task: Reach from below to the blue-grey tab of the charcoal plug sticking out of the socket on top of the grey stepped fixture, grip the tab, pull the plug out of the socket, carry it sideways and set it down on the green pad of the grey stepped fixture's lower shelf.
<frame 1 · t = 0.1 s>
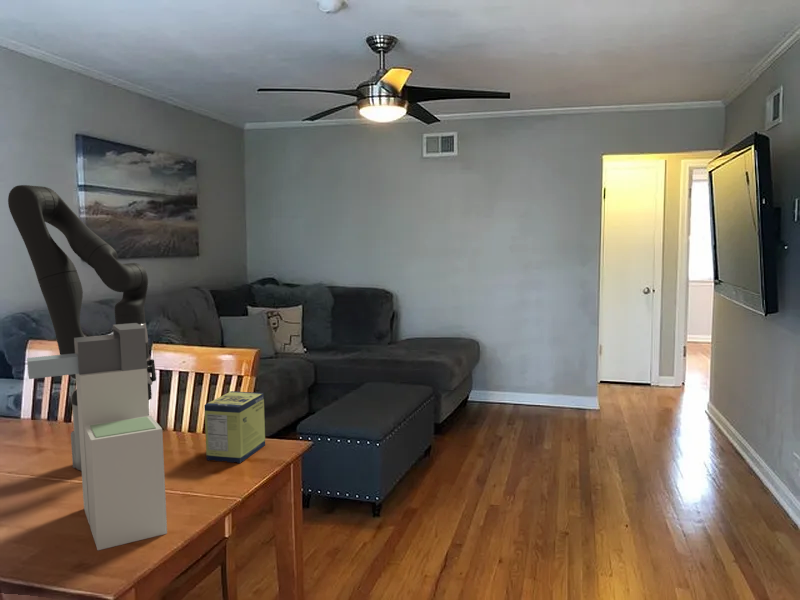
hand: (137, 403, 166), 17 cm above the table, tool pointing down, fingers open, 8 cm apart
plug: (77, 371, 136), point 32 cm above the table, touching grey stepped fixture
grey stepped fixture: (122, 517, 139), on the table
protein box: (236, 453, 180), on the table
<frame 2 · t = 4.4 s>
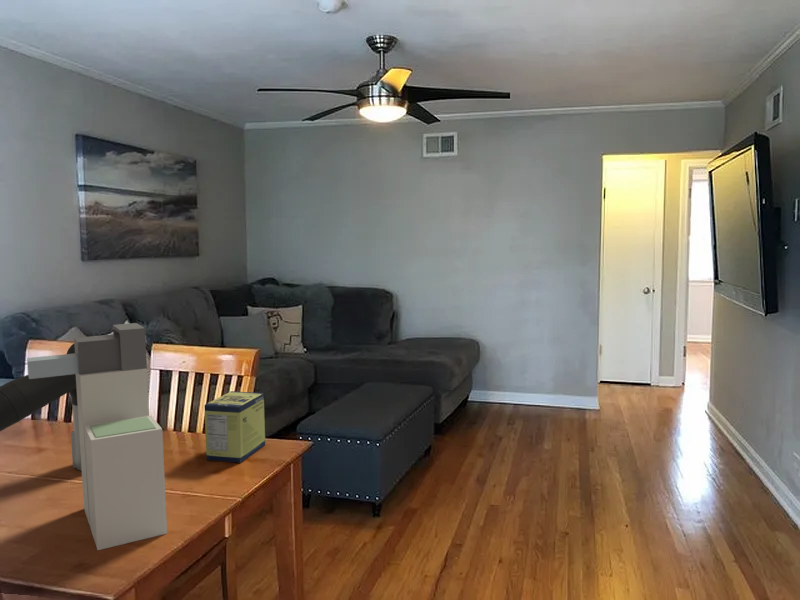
nothing on the table moved.
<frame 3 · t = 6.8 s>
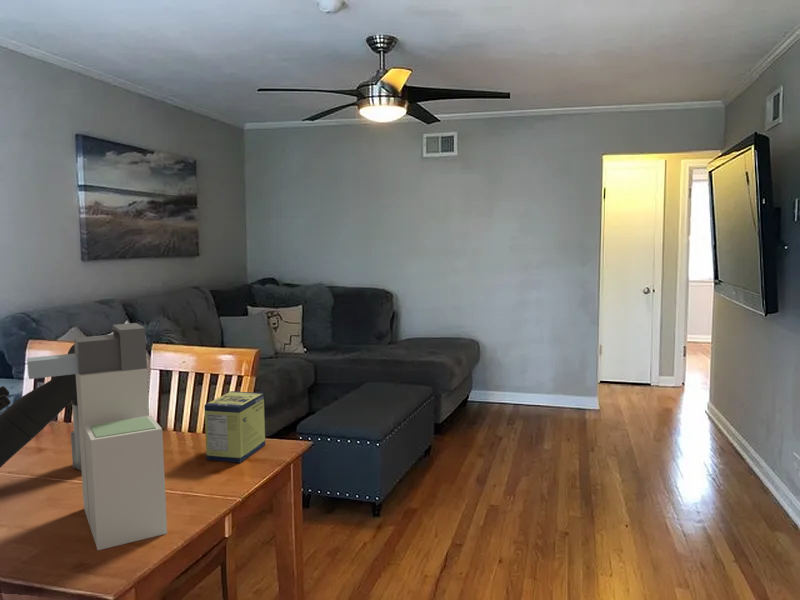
hand: (7, 394, 130), 29 cm above the table, tool pointing upward, fingers open, 8 cm apart
nothing on the table moved.
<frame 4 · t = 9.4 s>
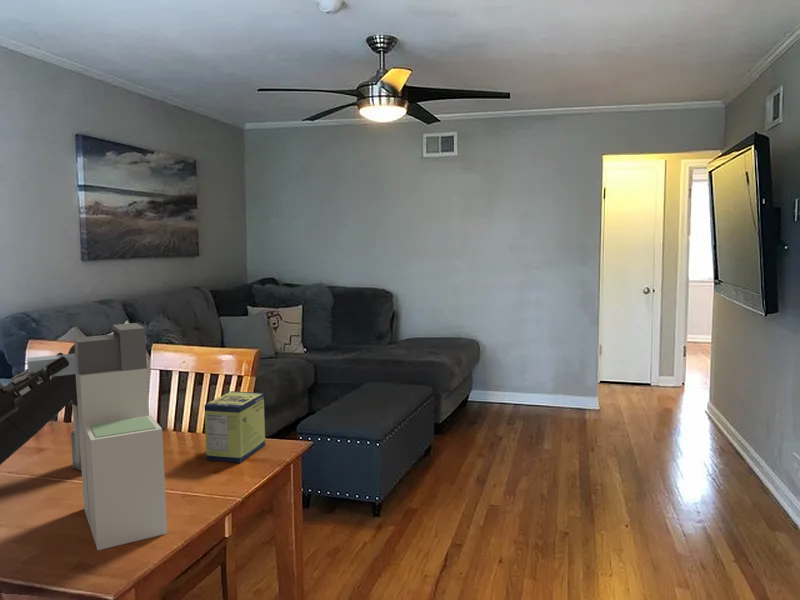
hand: (65, 358, 135), 35 cm above the table, tool pointing upward, fingers closed on plug, 4 cm apart
plug: (77, 371, 136), point 32 cm above the table, touching gripper, grey stepped fixture
everything else where it was.
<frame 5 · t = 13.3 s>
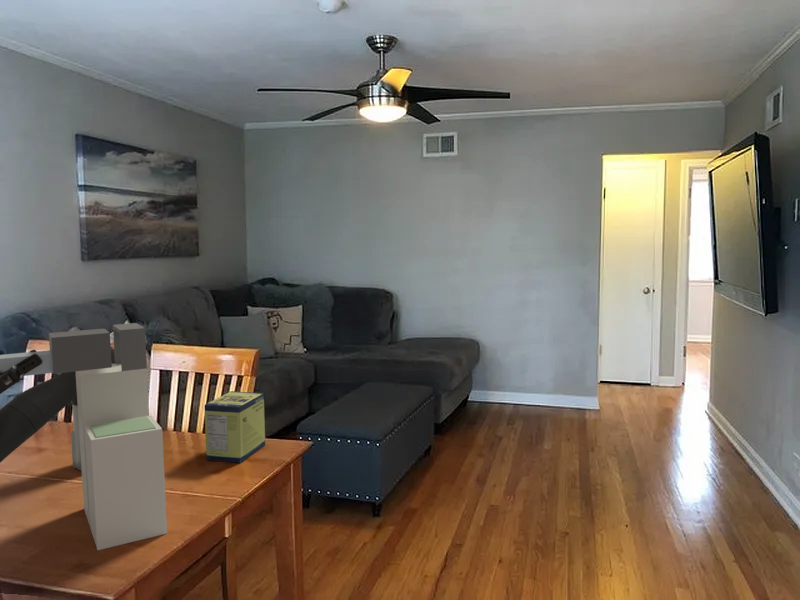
hand: (38, 355, 121), 38 cm above the table, tool pointing upward, fingers closed on plug, 4 cm apart
plug: (52, 370, 123), point 35 cm above the table, touching gripper
everything else where it was.
when the fingers open (26 cm above the table, at t = 17.4 s): plug stays where it is, resting on grey stepped fixture.
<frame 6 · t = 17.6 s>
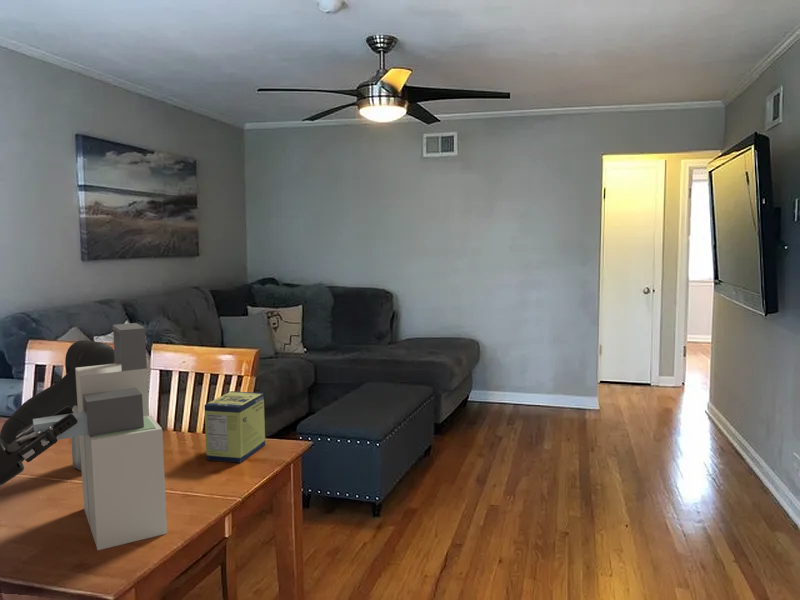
hand: (72, 413, 125), 26 cm above the table, tool pointing upward, fingers open, 6 cm apart
plug: (87, 431, 127), point 22 cm above the table, touching grey stepped fixture
everything else where it was.
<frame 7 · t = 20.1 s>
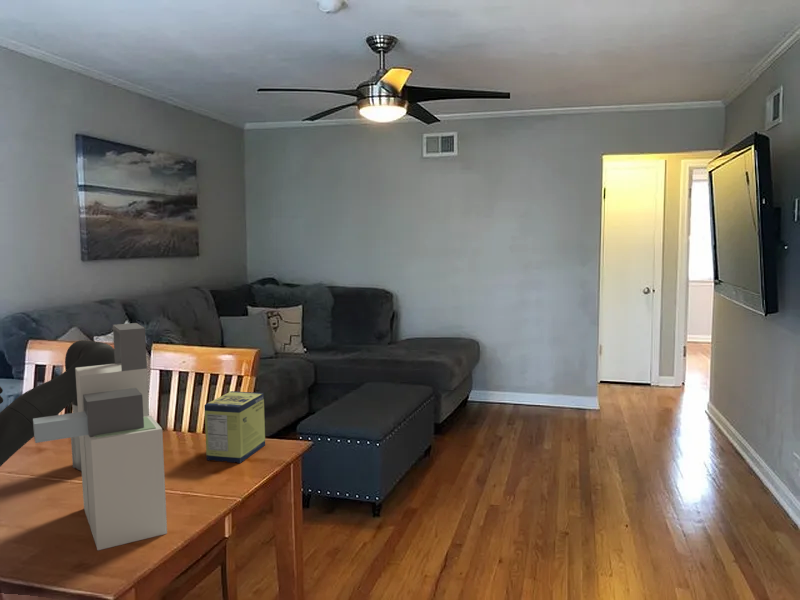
hand: (0, 391, 120), 32 cm above the table, tool pointing upward, fingers open, 8 cm apart
nothing on the table moved.
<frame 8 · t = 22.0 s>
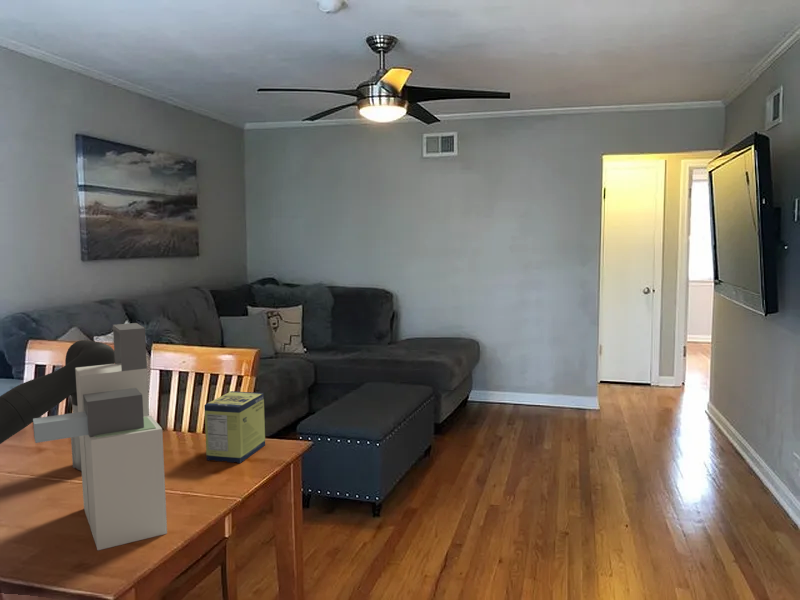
nothing on the table moved.
at the end: plug inside the target area (0.2 cm from its centre), point 22.2 cm above the table; plug tilted 0°; the gripper is holding nothing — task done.
